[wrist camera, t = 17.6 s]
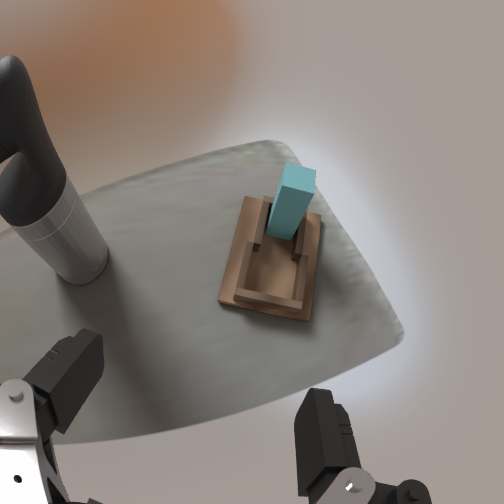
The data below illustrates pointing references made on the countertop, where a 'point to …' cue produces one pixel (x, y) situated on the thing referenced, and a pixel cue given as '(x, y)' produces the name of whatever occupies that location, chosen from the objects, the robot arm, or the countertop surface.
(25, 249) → the countertop surface
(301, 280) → the keyhole board
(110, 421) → the countertop surface
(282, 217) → the post
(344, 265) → the countertop surface
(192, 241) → the countertop surface
